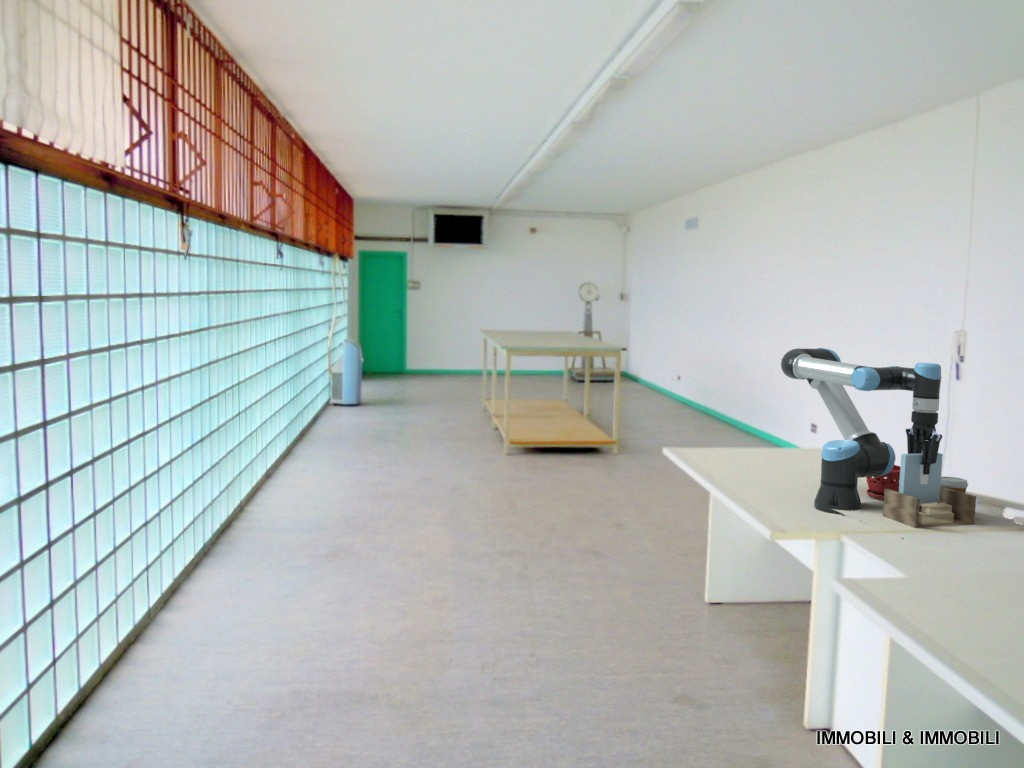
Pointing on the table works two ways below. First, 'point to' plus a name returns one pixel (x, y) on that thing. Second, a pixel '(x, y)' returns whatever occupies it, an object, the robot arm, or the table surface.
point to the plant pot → (884, 483)
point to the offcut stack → (936, 514)
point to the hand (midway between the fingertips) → (920, 482)
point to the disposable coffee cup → (954, 483)
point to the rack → (909, 507)
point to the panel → (911, 478)
